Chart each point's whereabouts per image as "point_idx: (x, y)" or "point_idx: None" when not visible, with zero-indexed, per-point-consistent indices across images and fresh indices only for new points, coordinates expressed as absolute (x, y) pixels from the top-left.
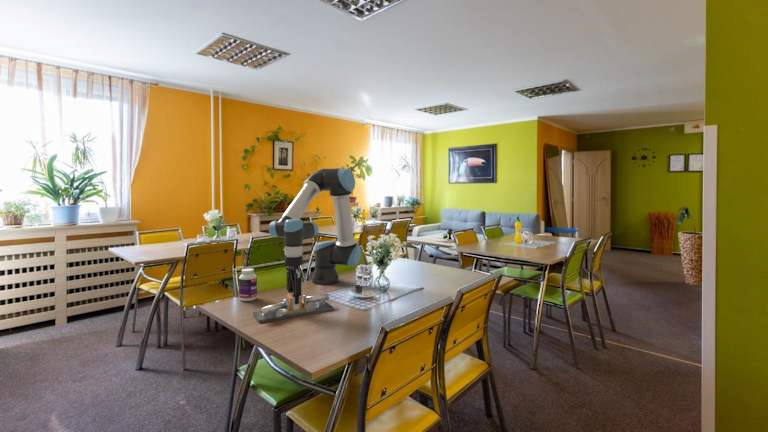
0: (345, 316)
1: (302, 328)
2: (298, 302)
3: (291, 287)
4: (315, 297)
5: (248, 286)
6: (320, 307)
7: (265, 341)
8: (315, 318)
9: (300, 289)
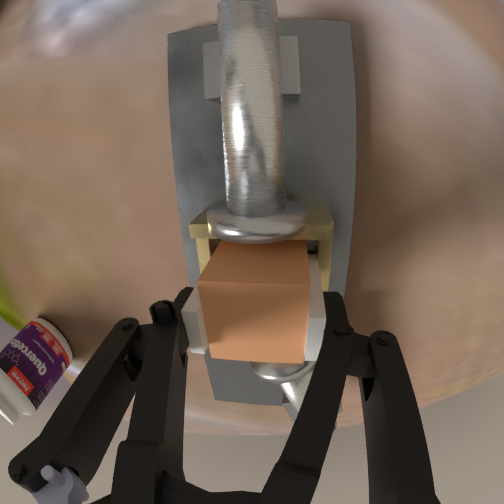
0: (470, 49)
1: (478, 292)
2: (343, 301)
3: (180, 371)
4: (273, 117)
5: (45, 385)
6: (311, 95)
7: (457, 390)
8: (430, 193)
9: (405, 384)
